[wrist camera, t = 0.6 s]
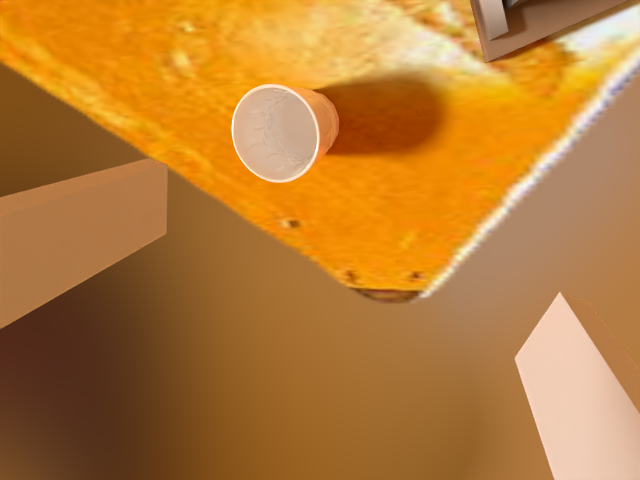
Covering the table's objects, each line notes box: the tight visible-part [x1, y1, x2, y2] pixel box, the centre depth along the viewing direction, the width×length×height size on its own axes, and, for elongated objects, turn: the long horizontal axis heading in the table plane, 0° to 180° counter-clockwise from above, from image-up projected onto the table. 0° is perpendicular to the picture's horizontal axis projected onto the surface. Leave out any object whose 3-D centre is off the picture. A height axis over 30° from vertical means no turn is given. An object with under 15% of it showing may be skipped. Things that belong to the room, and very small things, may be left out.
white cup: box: [232, 84, 339, 182], centre depth 33 cm, size 8×8×10 cm
